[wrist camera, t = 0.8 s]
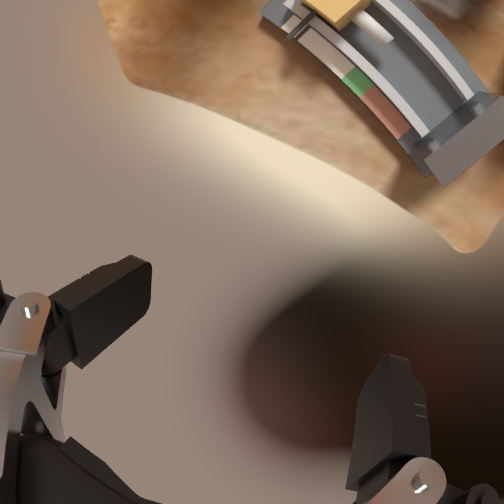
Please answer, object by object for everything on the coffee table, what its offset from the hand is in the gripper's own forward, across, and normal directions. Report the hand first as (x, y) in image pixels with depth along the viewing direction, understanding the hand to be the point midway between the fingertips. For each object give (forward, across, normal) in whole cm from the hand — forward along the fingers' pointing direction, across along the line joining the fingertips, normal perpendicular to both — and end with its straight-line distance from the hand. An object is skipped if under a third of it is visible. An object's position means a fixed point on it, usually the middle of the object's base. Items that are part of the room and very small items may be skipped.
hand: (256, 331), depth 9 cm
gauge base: (+23, -2, -17) cm, 29 cm away
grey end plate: (+23, -11, -12) cm, 28 cm away
